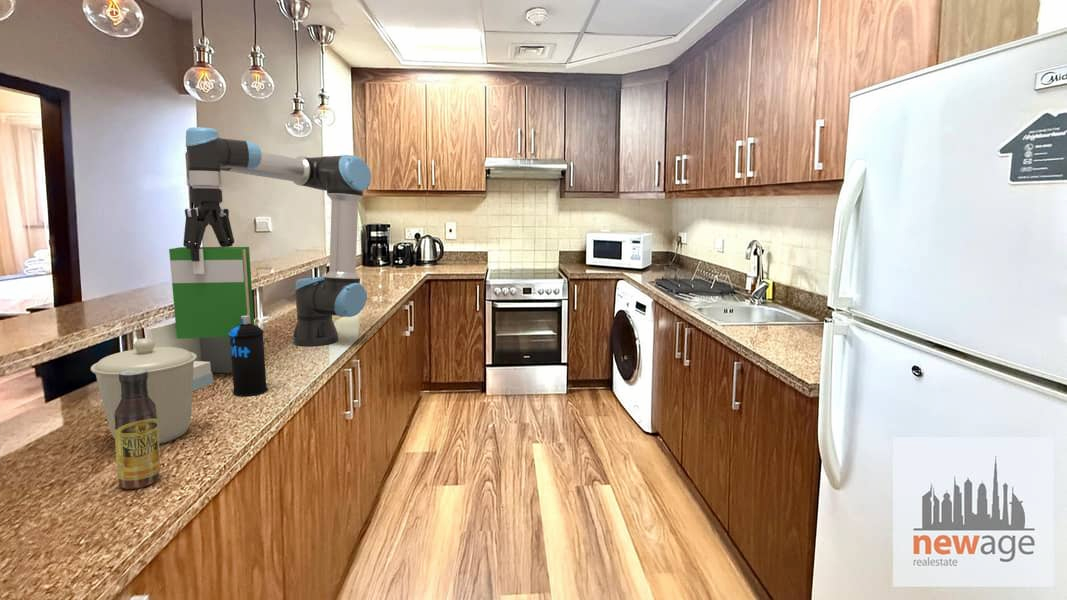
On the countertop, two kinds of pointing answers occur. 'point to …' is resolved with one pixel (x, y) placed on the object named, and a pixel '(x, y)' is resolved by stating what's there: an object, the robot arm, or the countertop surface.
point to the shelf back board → (173, 339)
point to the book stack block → (201, 374)
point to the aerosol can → (248, 359)
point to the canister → (152, 384)
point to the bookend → (217, 353)
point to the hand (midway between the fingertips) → (212, 271)
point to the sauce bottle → (136, 432)
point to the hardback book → (211, 291)
